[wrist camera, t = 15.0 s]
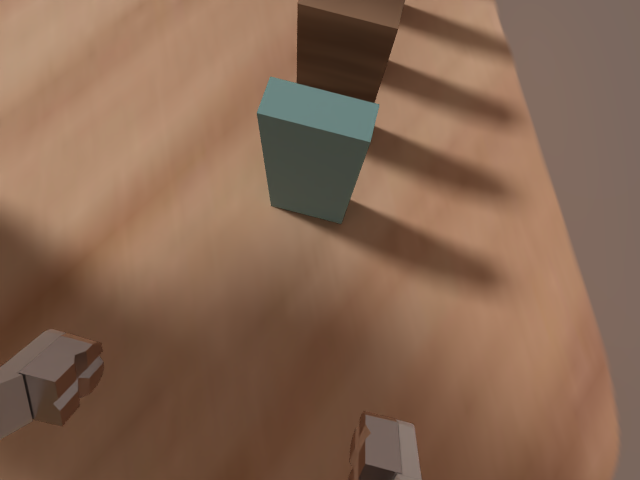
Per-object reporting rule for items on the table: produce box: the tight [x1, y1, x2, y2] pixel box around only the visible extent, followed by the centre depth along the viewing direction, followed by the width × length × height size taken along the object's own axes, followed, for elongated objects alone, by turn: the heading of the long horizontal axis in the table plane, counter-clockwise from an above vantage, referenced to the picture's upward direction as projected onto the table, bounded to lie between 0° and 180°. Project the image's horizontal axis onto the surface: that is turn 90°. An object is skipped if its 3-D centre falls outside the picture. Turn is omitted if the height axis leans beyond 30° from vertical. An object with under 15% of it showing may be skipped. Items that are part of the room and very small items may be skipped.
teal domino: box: [257, 77, 379, 224], centre depth 20 cm, size 2×5×10 cm, turn 76°
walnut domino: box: [297, 0, 405, 103], centre depth 22 cm, size 2×5×10 cm, turn 76°
